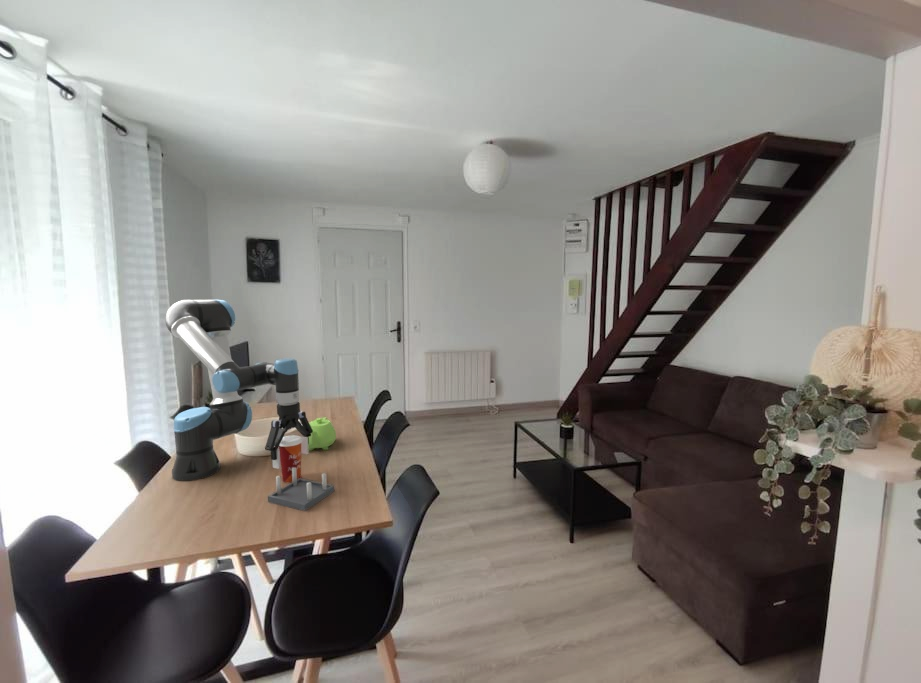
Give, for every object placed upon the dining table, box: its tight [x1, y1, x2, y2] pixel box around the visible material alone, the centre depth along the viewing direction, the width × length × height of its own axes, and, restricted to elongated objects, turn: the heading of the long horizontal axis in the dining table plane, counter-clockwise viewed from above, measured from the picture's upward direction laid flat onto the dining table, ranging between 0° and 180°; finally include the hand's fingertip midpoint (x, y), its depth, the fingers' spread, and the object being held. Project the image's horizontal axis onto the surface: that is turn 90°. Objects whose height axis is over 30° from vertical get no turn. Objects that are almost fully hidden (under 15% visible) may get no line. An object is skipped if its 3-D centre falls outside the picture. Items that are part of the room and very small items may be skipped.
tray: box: [267, 467, 336, 512], centre depth 135 cm, size 15×14×7 cm
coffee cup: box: [278, 434, 302, 483], centre depth 148 cm, size 8×8×15 cm
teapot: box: [308, 416, 337, 452], centre depth 179 cm, size 20×13×13 cm
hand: (291, 460), depth 148 cm, fingers open, 13 cm apart
